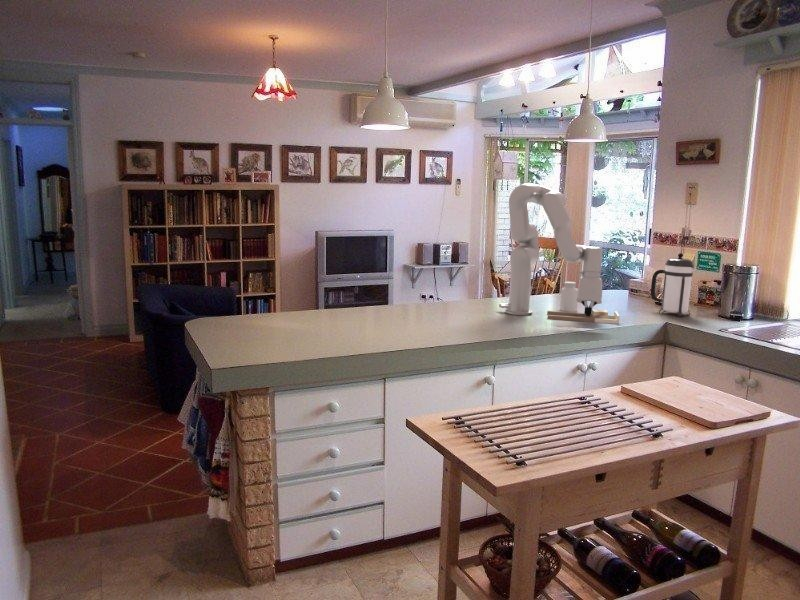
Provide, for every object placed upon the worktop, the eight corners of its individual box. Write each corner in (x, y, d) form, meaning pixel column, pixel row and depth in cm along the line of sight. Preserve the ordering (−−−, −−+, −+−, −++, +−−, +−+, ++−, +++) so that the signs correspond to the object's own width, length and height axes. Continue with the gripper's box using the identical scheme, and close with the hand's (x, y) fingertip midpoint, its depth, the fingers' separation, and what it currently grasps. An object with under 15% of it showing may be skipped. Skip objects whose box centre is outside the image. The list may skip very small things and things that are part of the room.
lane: (547, 322, 280) (548, 310, 279) (546, 317, 291) (547, 306, 291) (618, 327, 274) (619, 315, 273) (615, 322, 285) (616, 311, 285)
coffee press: (684, 311, 318) (690, 252, 313) (695, 317, 303) (702, 255, 298) (648, 310, 320) (654, 250, 315) (657, 316, 304) (664, 253, 299)
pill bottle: (557, 313, 301) (559, 282, 299) (561, 311, 308) (564, 280, 306) (574, 315, 298) (577, 283, 295) (578, 313, 305) (580, 282, 302)
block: (593, 320, 279) (593, 311, 278) (591, 318, 285) (592, 309, 284) (607, 321, 278) (608, 312, 277) (605, 318, 284) (606, 310, 283)
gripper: (574, 274, 277) (570, 316, 280) (609, 276, 274) (606, 318, 277) (573, 272, 284) (570, 313, 287) (608, 274, 281) (604, 315, 284)
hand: (587, 315), depth 282 cm, fingers closed
